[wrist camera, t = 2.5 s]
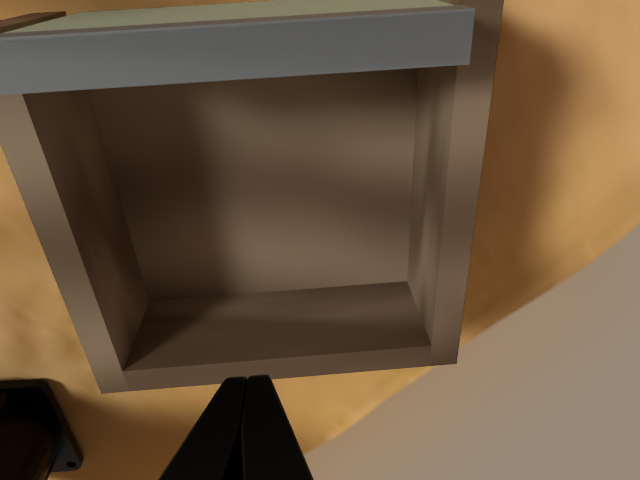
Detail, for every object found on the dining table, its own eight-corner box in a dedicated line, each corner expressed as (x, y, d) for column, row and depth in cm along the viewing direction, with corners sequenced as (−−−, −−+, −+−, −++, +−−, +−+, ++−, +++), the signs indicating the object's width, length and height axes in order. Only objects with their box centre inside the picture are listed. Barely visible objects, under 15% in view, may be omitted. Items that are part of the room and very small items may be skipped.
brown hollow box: (422, 284, 22) (456, 363, 18) (137, 306, 22) (101, 393, 17) (444, -14, 16) (504, -3, 12) (46, 10, 16) (-46, 30, 11)
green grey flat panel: (408, 28, 16) (469, 64, 10) (89, 48, 15) (-11, 96, 10) (409, -10, 15) (475, 8, 10) (78, 10, 15) (-33, 39, 10)
